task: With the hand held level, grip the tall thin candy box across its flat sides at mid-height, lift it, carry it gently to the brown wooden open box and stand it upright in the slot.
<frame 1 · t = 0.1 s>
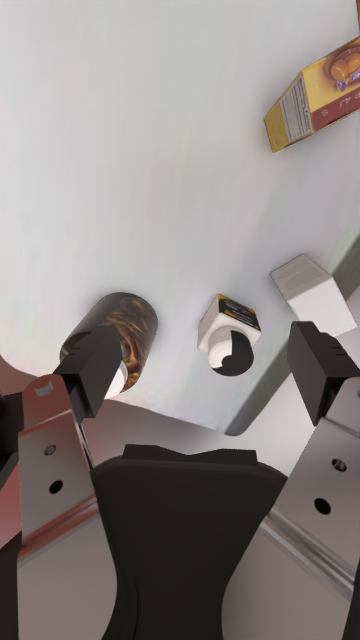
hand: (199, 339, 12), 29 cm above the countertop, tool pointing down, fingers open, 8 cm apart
medicine bottle: (225, 318, 44), on the countertop
jar: (125, 320, 47), on the countertop
candy box: (303, 115, 30), on the countertop
small box: (297, 282, 40), on the countertop
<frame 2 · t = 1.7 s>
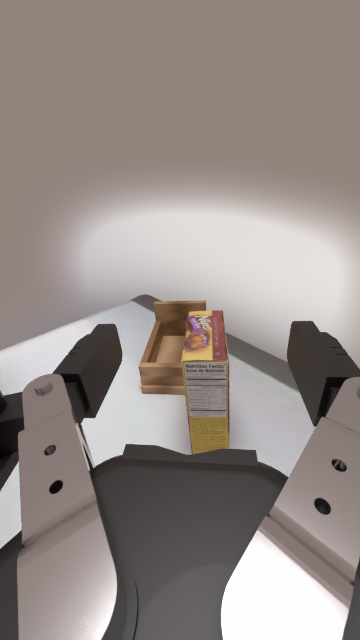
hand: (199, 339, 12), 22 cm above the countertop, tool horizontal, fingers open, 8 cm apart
candy box: (209, 434, 32), on the countertop
brown wooden open box: (179, 361, 45), on the countertop
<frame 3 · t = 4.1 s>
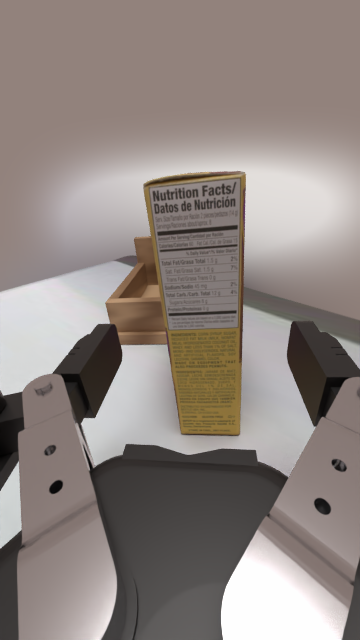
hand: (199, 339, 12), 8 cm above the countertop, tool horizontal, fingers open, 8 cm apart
candy box: (208, 390, 21), on the countertop
brown wooden open box: (167, 310, 34), on the countertop
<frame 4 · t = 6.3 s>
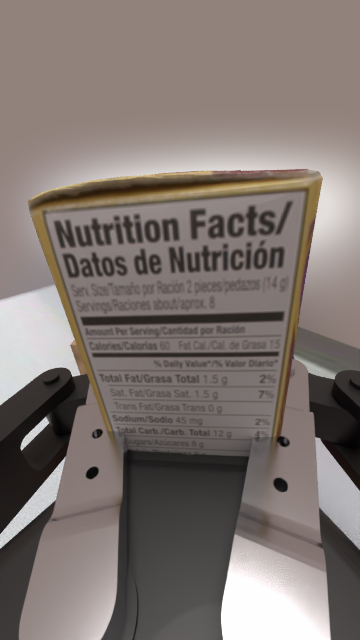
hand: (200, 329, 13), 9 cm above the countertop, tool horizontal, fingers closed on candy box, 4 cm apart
candy box: (205, 486, 14), on the countertop, touching gripper
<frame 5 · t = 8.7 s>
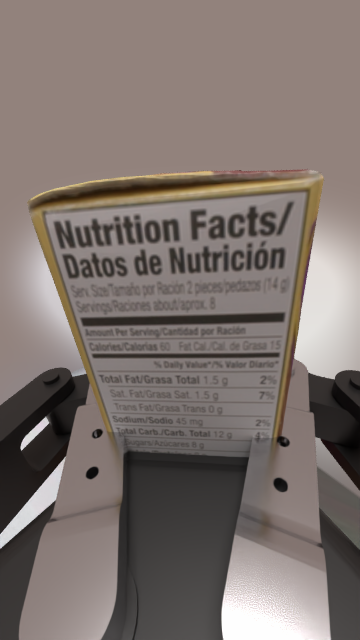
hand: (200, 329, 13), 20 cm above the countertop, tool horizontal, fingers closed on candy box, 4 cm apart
candy box: (205, 486, 14), point 11 cm above the countertop, touching gripper
when the fingers open (11 cm above the countertop, at t = 11.4 s): candy box drops 1 cm, resting on brown wooden open box.
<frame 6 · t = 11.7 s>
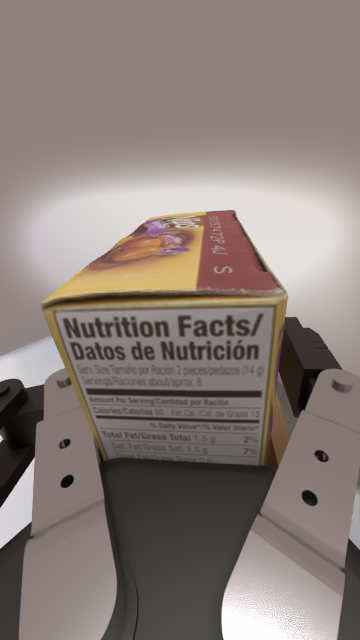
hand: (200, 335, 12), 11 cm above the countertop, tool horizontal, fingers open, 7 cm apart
candy box: (204, 503, 15), point 1 cm above the countertop, touching brown wooden open box
brown wooden open box: (206, 508, 16), on the countertop
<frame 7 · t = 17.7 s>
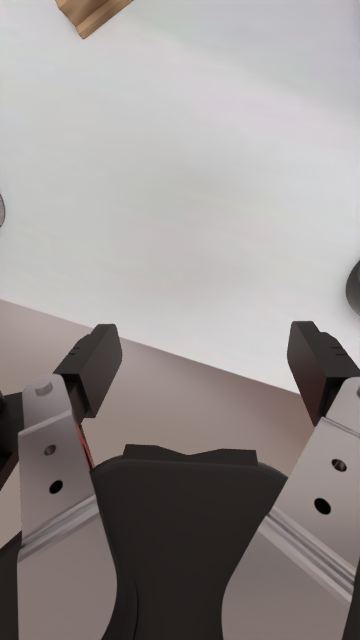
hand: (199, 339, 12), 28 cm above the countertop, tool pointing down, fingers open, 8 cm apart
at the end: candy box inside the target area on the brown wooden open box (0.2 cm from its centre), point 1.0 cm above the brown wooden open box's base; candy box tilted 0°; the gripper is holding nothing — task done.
